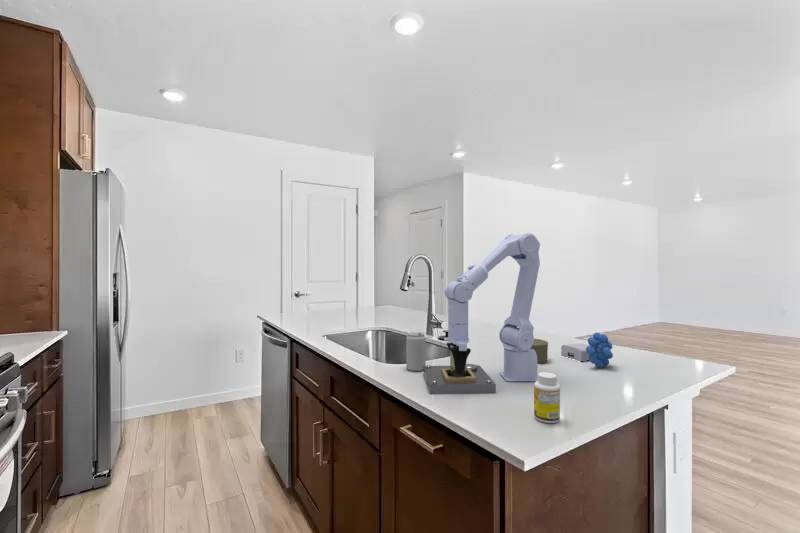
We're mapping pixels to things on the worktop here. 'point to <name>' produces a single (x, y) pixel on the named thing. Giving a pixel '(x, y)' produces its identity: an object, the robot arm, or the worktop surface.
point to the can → (540, 350)
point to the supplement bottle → (547, 398)
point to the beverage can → (415, 351)
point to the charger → (575, 351)
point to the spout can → (452, 367)
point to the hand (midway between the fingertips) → (458, 369)
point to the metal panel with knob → (458, 380)
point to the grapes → (599, 350)
